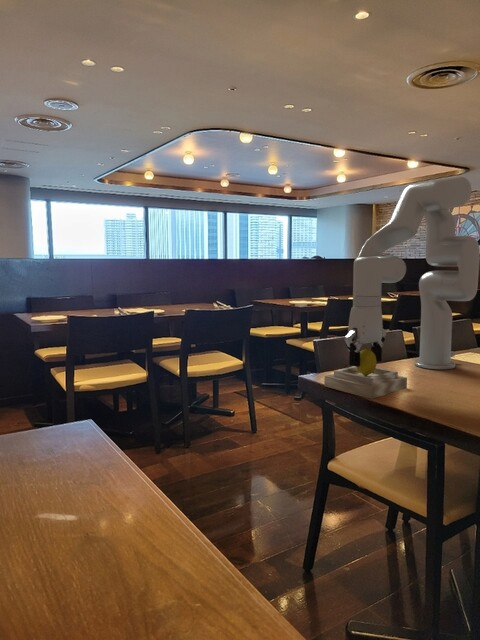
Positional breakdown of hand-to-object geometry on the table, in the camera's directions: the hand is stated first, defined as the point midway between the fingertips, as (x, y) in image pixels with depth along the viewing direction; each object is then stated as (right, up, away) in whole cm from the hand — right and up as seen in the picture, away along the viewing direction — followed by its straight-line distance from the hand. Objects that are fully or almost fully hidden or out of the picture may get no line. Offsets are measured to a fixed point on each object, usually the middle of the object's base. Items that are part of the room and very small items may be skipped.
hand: (365, 363), depth 128 cm
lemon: (0, -4, 0) cm, 4 cm away
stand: (0, -7, +1) cm, 7 cm away
